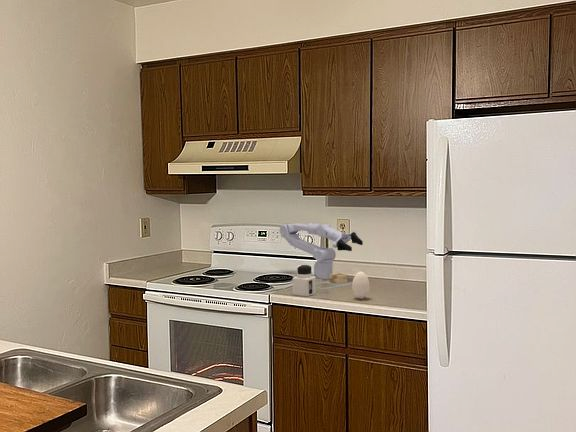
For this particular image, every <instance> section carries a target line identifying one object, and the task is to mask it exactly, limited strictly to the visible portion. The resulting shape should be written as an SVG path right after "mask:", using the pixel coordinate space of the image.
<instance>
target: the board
mask: <svg viewBox="0 0 576 432" xmlns="http://www.w3.org/2000/svg"><path fill="white" fill-rule="evenodd" d="M352 283H353V282H350V281H347V283H343V284H334V283H330V280H326V281H319V282H316V285H319V284H328V285H333V286H330V287H329V286H328V287H318V286H316V289H322V290H329V289H335V288H339V287H345V286H350V285H351V286H352Z"/></svg>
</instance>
